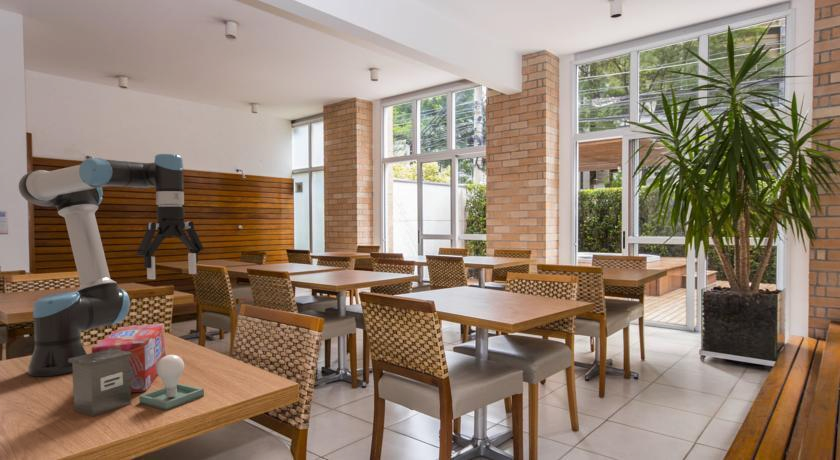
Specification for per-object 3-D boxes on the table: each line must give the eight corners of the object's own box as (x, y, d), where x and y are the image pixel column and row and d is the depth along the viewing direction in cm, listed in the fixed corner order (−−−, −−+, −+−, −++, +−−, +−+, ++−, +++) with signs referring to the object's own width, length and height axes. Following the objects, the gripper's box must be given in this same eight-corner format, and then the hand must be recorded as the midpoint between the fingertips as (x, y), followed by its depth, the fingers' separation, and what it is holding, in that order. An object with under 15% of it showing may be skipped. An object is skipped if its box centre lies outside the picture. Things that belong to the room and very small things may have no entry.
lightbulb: (173, 403, 123) (172, 359, 123) (151, 401, 125) (150, 358, 124) (190, 394, 130) (189, 352, 129) (169, 392, 131) (167, 351, 131)
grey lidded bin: (70, 411, 121) (68, 358, 120) (113, 397, 130) (111, 348, 129) (91, 418, 116) (89, 363, 116) (134, 403, 125) (132, 352, 125)
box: (120, 368, 155) (119, 325, 155) (167, 364, 159) (165, 321, 158) (90, 399, 129) (88, 347, 129) (146, 393, 133) (144, 342, 132)
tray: (139, 403, 125) (139, 395, 125) (177, 389, 135) (177, 383, 134) (166, 410, 120) (166, 402, 120) (204, 395, 129) (203, 389, 129)
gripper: (137, 205, 137) (140, 282, 138) (213, 206, 159) (215, 272, 160) (121, 206, 141) (124, 280, 141) (198, 206, 163) (200, 271, 163)
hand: (172, 276), depth 151 cm, fingers open, 13 cm apart
